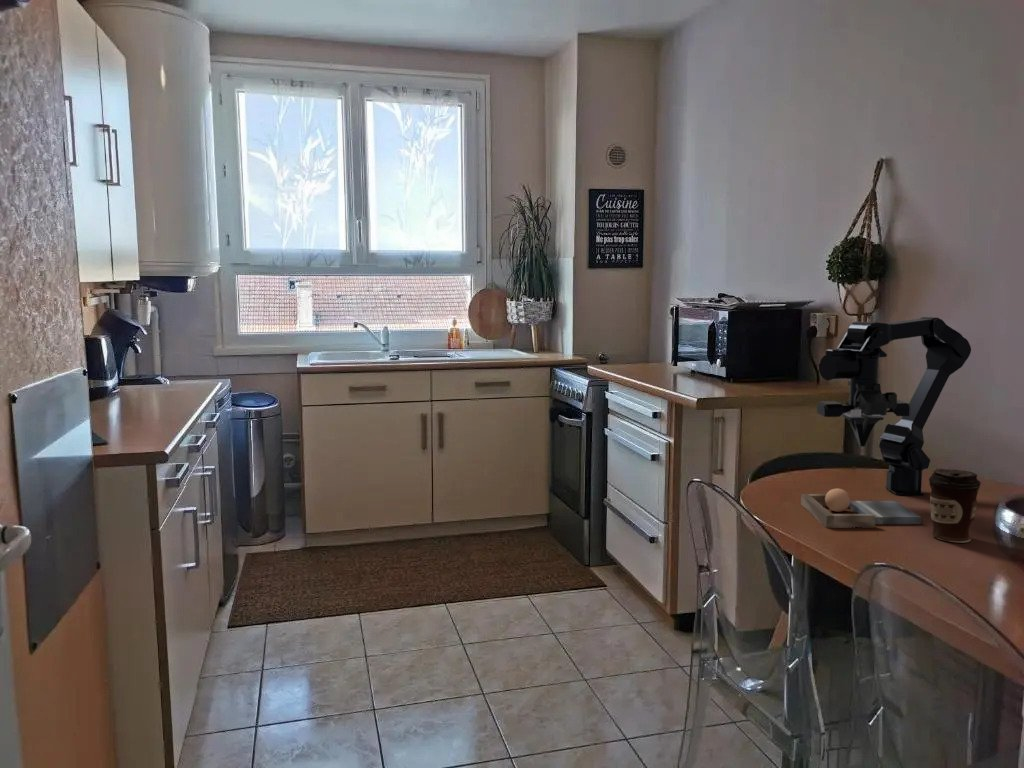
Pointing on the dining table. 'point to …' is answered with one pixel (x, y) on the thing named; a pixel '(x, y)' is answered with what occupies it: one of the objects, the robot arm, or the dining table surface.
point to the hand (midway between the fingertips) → (861, 446)
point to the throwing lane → (859, 513)
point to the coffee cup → (953, 503)
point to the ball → (837, 500)
